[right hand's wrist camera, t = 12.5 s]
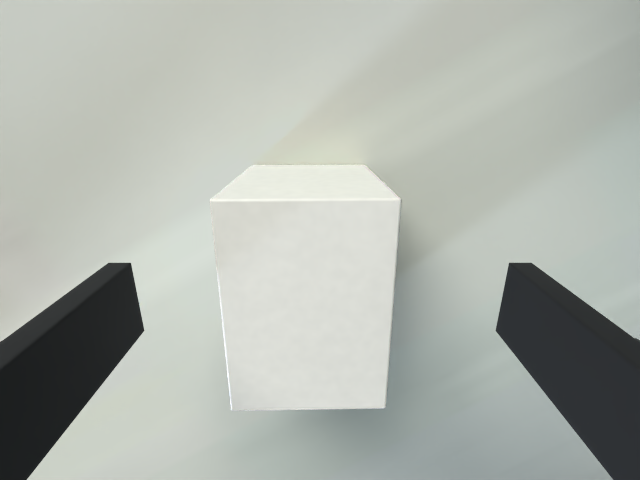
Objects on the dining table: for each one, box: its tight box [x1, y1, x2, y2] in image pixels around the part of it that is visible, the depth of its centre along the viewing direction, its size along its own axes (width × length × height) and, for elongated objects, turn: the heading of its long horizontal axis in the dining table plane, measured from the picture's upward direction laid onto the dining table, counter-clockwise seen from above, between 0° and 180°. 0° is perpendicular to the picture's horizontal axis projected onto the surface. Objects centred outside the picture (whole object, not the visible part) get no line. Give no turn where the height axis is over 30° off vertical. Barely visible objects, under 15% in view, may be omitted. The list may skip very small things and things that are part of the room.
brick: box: [210, 165, 401, 411], centre depth 16 cm, size 6×8×8 cm
